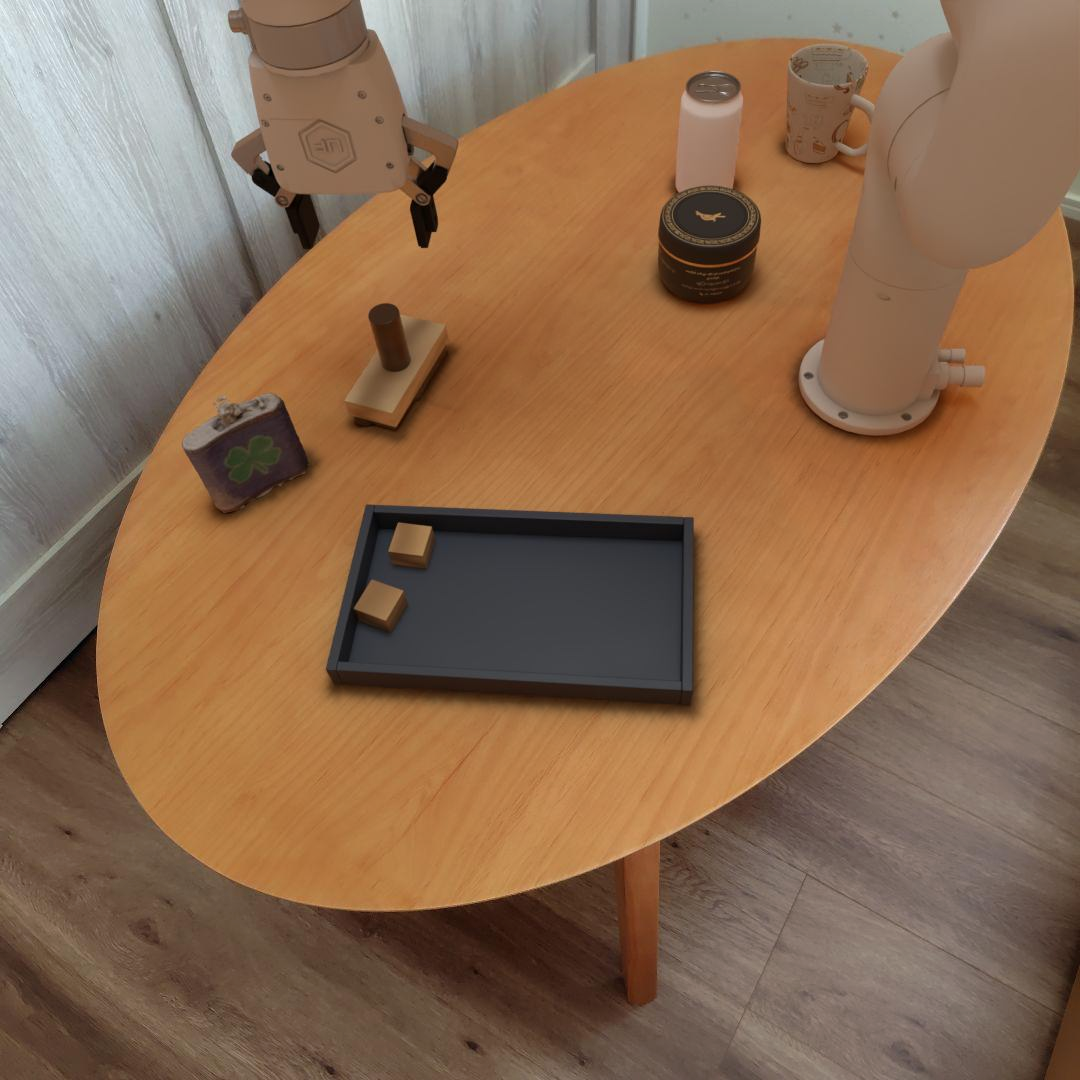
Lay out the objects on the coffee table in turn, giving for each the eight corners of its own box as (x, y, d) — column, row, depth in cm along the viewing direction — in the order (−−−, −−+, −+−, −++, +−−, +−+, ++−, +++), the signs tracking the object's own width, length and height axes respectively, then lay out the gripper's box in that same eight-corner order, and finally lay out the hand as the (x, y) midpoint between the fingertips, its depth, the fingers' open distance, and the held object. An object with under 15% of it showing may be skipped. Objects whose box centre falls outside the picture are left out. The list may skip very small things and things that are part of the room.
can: (730, 207, 104) (742, 105, 94) (671, 203, 105) (677, 101, 95) (735, 172, 108) (747, 69, 98) (678, 168, 109) (685, 66, 99)
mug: (806, 118, 112) (821, 35, 104) (894, 161, 107) (918, 76, 99) (760, 149, 110) (772, 66, 101) (849, 195, 104) (869, 110, 96)
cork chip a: (435, 539, 81) (432, 526, 79) (426, 569, 79) (422, 555, 77) (402, 535, 81) (397, 522, 79) (392, 564, 79) (387, 551, 78)
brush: (451, 350, 94) (436, 275, 86) (399, 438, 88) (378, 366, 80) (406, 340, 96) (388, 265, 88) (352, 425, 90) (327, 353, 82)
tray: (690, 539, 80) (693, 516, 77) (689, 709, 71) (692, 691, 68) (373, 526, 83) (365, 504, 80) (335, 688, 74) (325, 669, 71)
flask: (224, 518, 84) (178, 440, 75) (210, 498, 86) (164, 419, 77) (315, 468, 87) (281, 387, 78) (300, 449, 88) (266, 368, 80)
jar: (764, 301, 95) (775, 239, 89) (668, 316, 95) (672, 255, 89) (738, 239, 101) (746, 176, 95) (646, 253, 101) (649, 191, 94)
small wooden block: (408, 603, 77) (403, 590, 75) (390, 633, 76) (385, 620, 74) (376, 591, 78) (371, 578, 76) (358, 620, 76) (353, 608, 75)
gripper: (168, 61, 62) (256, 269, 76) (426, 52, 60) (466, 268, 74) (202, 2, 66) (279, 210, 80) (443, -8, 64) (479, 207, 78)
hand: (369, 237), depth 77 cm, fingers open, 9 cm apart
